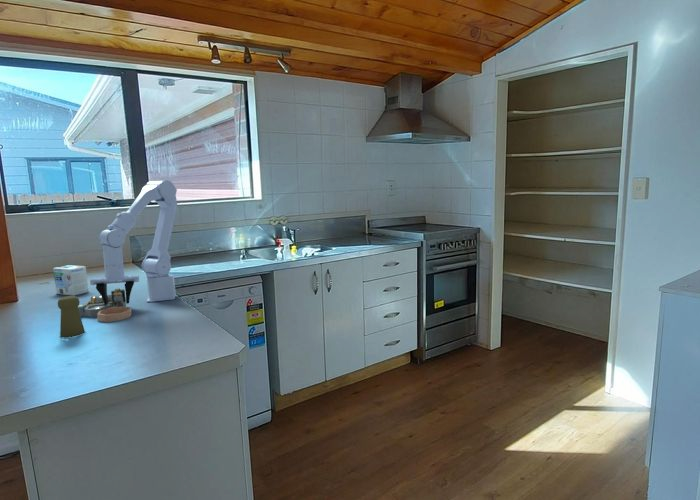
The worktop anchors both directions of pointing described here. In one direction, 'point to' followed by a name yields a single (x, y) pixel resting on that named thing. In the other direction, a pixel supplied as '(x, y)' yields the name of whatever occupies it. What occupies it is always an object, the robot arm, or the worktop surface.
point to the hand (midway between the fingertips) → (117, 303)
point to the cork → (70, 317)
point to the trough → (100, 303)
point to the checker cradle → (91, 310)
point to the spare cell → (99, 299)
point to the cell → (118, 297)
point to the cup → (114, 314)
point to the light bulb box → (71, 280)
